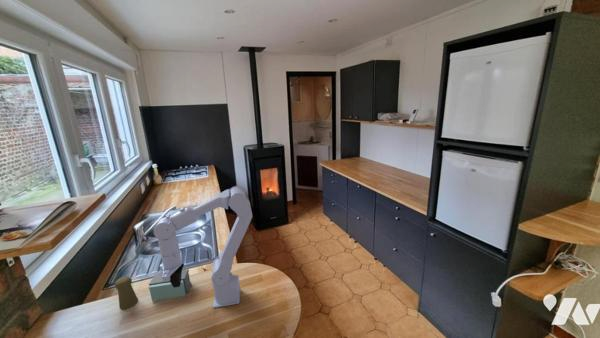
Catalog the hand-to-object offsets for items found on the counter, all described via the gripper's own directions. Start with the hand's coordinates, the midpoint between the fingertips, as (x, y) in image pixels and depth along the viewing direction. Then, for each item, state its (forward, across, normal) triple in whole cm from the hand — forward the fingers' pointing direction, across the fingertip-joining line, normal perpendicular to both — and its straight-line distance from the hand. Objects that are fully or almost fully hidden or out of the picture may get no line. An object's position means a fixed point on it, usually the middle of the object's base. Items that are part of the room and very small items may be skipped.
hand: (177, 285), depth 88 cm
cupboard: (+10, -12, -7) cm, 17 cm away
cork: (+11, -8, -22) cm, 26 cm away
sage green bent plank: (+10, -8, -7) cm, 14 cm away
